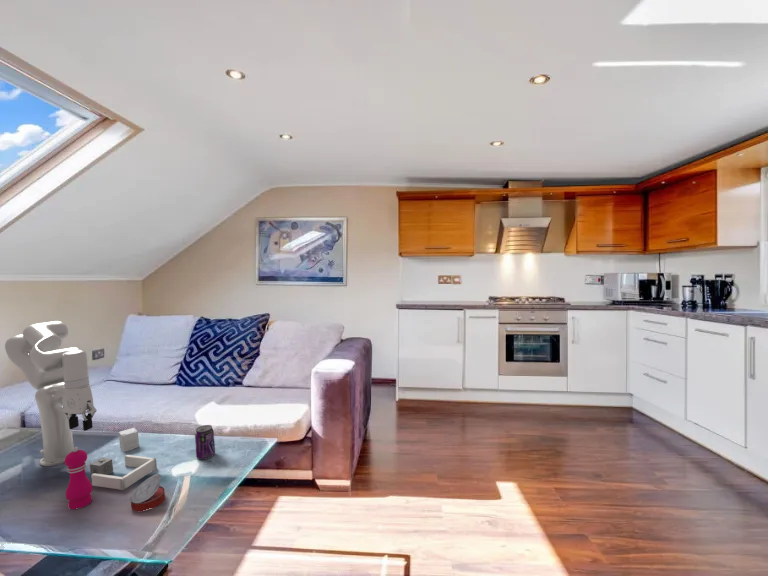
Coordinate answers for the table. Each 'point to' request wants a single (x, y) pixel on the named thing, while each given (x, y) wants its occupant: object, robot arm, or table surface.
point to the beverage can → (204, 442)
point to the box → (122, 483)
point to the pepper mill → (78, 480)
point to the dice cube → (102, 466)
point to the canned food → (148, 494)
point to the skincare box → (128, 439)
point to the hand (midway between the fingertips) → (81, 428)
